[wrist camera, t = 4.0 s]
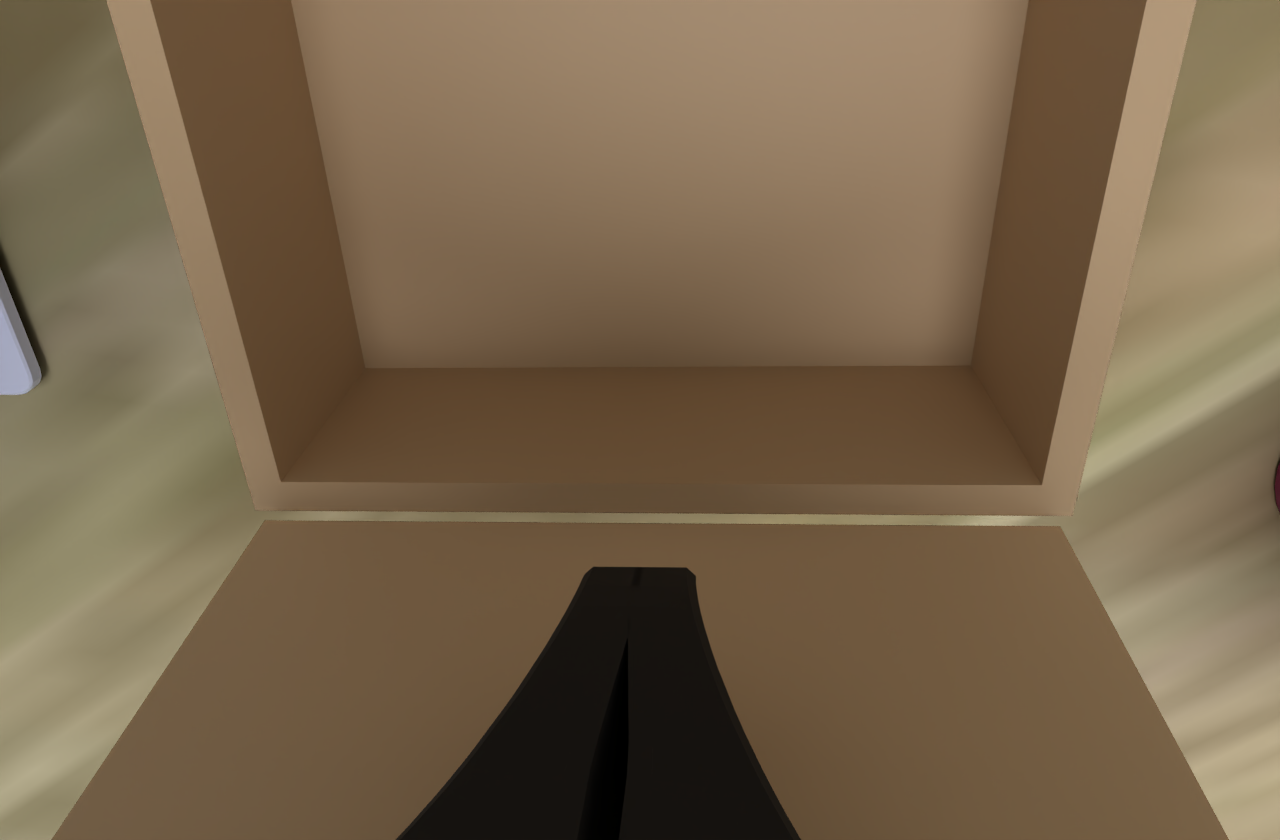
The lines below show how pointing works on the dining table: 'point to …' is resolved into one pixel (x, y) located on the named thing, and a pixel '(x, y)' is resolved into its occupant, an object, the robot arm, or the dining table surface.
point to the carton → (658, 244)
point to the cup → (1277, 487)
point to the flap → (743, 650)
